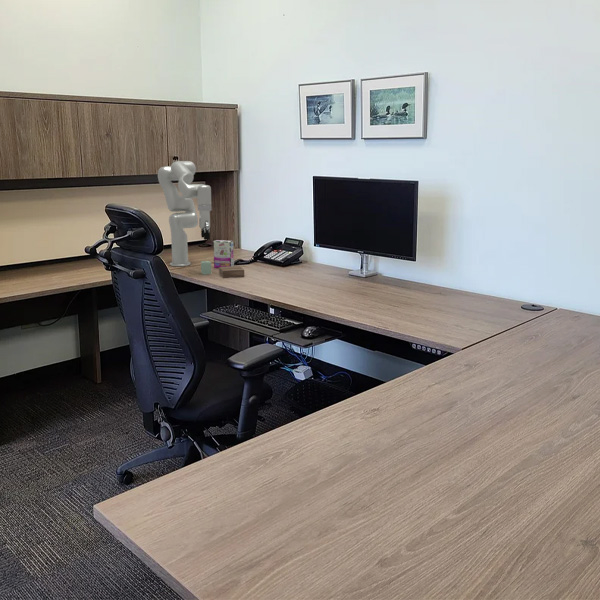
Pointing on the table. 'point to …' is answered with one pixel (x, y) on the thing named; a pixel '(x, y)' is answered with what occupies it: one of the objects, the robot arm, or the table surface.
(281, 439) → the table surface
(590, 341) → the table surface
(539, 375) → the table surface
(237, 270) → the walnut block
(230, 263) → the candy bar box
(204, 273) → the sage block
